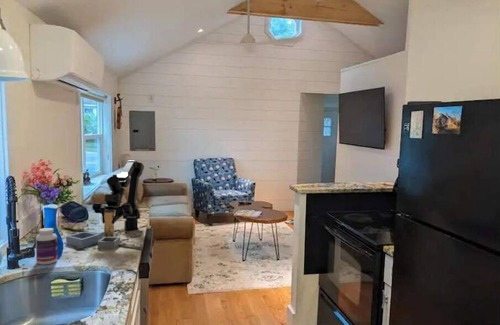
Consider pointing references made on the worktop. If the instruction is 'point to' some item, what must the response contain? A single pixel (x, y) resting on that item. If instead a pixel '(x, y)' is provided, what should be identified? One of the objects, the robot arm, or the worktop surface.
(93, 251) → the worktop surface
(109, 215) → the jumbo cell
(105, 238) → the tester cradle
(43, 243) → the pill bottle
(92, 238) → the bin
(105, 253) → the worktop surface
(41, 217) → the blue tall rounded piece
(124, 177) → the robot arm
